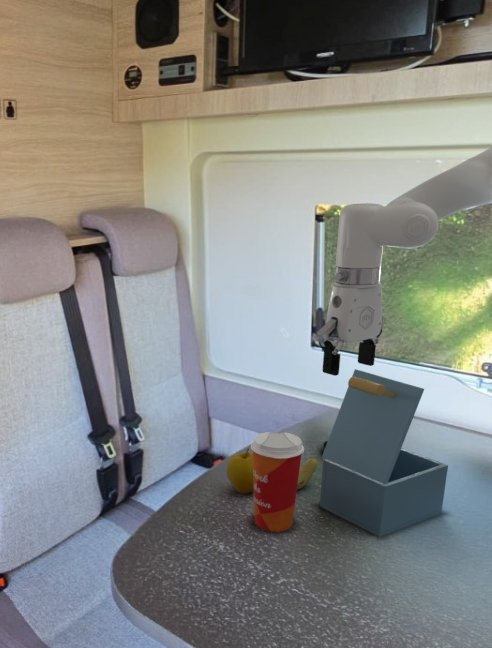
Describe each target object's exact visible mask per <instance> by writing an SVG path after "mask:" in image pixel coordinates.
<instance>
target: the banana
mask: <svg viewBox="0 0 492 648" xmlns="http://www.w3.org/2000/svg"><path fill="white" fill-rule="evenodd" d="M317 468H318V459H317V458H315V457H313V458H309V459H307V460H306V461H305V462H304V463H303V464H302V466H301V467H300V470H299V477H298V485H297V491H298V490H300V489H302V488H304V487H305V486H306V485H307V483H308V482H309V481H310V479H311V478H312V476H313V475H314V474H315V472H316V471H317Z"/></svg>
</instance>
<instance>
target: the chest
mask: <svg viewBox="0 0 492 648" xmlns="http://www.w3.org/2000/svg"><path fill="white" fill-rule="evenodd" d="M448 468H449V465H448V464H446V463H443V462H440V461H439V460H435V459H432V458H430V457H427V456H424V455H422V454H418V453H416V452H413V451H411V450H409V449H406V448H403V447H401V450H400V452H399V455H398V458H397V460H396V463H395V465H394V468H393V470H392V473H391V475H390V478H389V480H388V483H387V484H383V483H381V482H378V481H376V480H374V479H371V478H369V477H367V476H365V475H362V474H360V473H358V472H355V471H353V470H351V469H348V468H346V467H344V466H342V465H339V464H337V463H335V462H332V461H330V460H328V459H325V458H324V459H323V460H322V469H321V471H322V472H321V483H320V484H321V485H320V497H319V500H320V501H319V507H320V508H323V509H324V510H325V511H326V510H327V511H328V512H330V513H332V514H334V515H336V516H338V517H340V518H342V519H344V520H346V521H348V522H350V523H352V524H353V525H356V526H357V527H360V528H361V529H363V530H365V531H367V532H369V533H371V534H373V535H375V536H376V537H379V538H380V537H383V536H385V535H388V534H391V533H393V532H396V531H398V530H401V529H404V528H406V527H409V526H412V525H414V524H417V523H419V522H422V521H424V520H425V521H426V520H427V519H430V518H432V517H435V516H437V515H441V514H442V511H443V504H444V498H445V497H444V496H445V489H446V485H447V484H446V483H447V477H448V476H447V475H448V471H449V469H448Z"/></svg>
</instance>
